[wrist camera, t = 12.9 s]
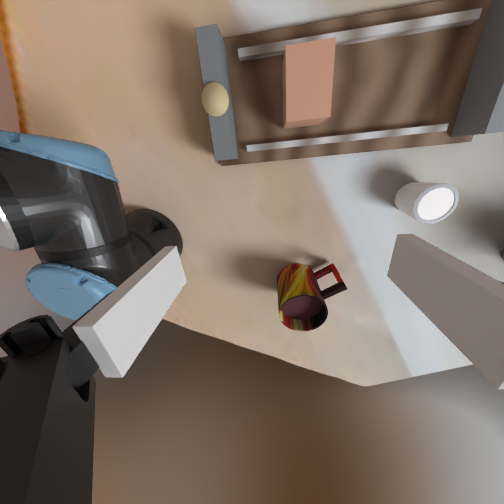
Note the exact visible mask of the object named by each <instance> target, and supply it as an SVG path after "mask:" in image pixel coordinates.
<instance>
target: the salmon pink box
mask: <svg viewBox="0 0 504 504" xmlns="http://www.w3.org/2000/svg"><path fill="white" fill-rule="evenodd" d="M335 44H336V37H334V38H328V39H321V40H315V41H309V42H303V43H297V44H291V45H285V52H284V60H283V67H282V97H283V129H288V128H296V127H305V126H313V125H319V124H320V123H322V122H323V121H325V120H326V119H328V118H329V117H331V102H332V88H333V73H334V59H335Z"/></svg>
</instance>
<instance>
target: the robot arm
mask: <svg viewBox="0 0 504 504" xmlns="http://www.w3.org/2000/svg"><path fill="white" fill-rule="evenodd" d="M118 183H119V182H118V180H117V179H116V177H115V174H114V171H113V168H112V165H111V162H110V159H109V157H108V156H107V154H106V153H105V152H104V151H102V150H101V149H99V148H97V147H95V146H92V145H88V144H84V143H79V142H74V141H69V140H64V139H58V138H52V137H46V136H39V135H33V134H25V133H20V134H19V133H16V132H7V131H1V130H0V248H4V249H8V250H11V251H19V250H23V249H27V248H31V247H34V249H35V251H36V253H37V255H38V257H39V259H40V260H41V264H38V265H36V266H34V267H32V269H31V270H30V271H29V272H28V273H27V277H26V278H25V283H26V286H27V288H28V290H29V292H30V293H31V294H32V296H33V297H34V298H35V299H36V300H37V301H38V302H40V303H41V304H42V305H43V306H45V307H46V308H48V309H50V310H51V311H53V312H55V313H57V314H59V315H61V316H63V317H66V318H69V319H72V320H76V321H75V322H74V323H72V324H71V325H70V326H69V327H68V328H67V329H65V330H64V331H63V332H61V330H60V329H59V327H58V326H57V325H56V323H55V322H54V320H53V319H52V317H51V316H48V315H42V316H37V317H33V318H30V319H28V320H25V321H23V322H21V323H18V324H17V325H15V326H13V327H11V328H9V329H8V330H6V331H5V332H4V333H2V334H1V335H0V347H1V348H2V349H3V350H4V351H5V352H6V353H7V355H8V356H6V357H2V358H0V504H92V478H93V477H92V476H93V447H94V418H95V416H94V415H95V388H96V382H95V379H94V377H93V374H94V373H95V372H96V370H97V369H98V368H100V370H101V371H102V373H103V374H104V375H105V377H124V375H125V374H126V372H127V371H128V369H129V368H130V366H131V365H132V363H133V361H134V360H135V358H136V357H137V355H138V354H139V352H140V351H141V349H142V348H143V346H144V345H145V343H146V342H147V340H148V339H149V337H150V336H151V334H152V333H153V331H154V330H155V328H156V327H157V325H158V324H159V322H160V321H161V319H162V318H163V316H164V315H165V313H166V312H167V310H168V309H169V307H170V306H171V304H172V303H173V301H174V300H175V298H176V297H177V295H178V294H179V292H180V291H181V289H182V288H183V286H184V285H185V283H186V282H187V281H186V278H185V274H184V271H183V267H182V263H181V260H180V255H181V253H182V248H183V243H182V238H181V235H180V232H179V230H178V229H177V227H176V226H175V225H174V223H173V222H172V221H171V220H170V219H168V218H167V217H166V216H164V215H162V214H161V213H158V212H156V211H153V210H146V209H142V210H137V211H134V212H132V213H129V214H127V215H126V214H125V210H124V206H123V202H122V198H121V194H120V191H119V187H118ZM387 276H388V277H389V278H390V279H391V280H392V281H393V282H394V283H395V284H396V285H397V286H398V287H399V289H400V290H401V291H402V292H403V293H404V294H405V295H406V296H407V297H408V298H409V299H410V300H411V301H412V302H413V303H414V304H415V305H416V306H417V307H418V308H419V309H420V310H421V311H422V312H423V313H424V314H425V315H426V316H427V317H428V318H429V319H430V320H431V321H432V322H433V323H434V324H435V325H436V326H437V327H438V328H439V329H440V330H441V332H442V333H443V334H444V335H445V336H446V337H447V338H448V339H449V340H450V341H451V342H452V343H453V344H454V345H455V346H456V347H457V348H458V349H459V350H460V351H461V352H462V353H463V354H464V355H465V356H466V357H467V358H468V359H469V360H470V361H471V362H472V363H473V364H474V365H475V366H476V367H477V368H478V369H479V370H480V371H481V372H482V373H483V374H484V375H485V377H487V379H488V380H489V381H490V382H491V383H492V384H493V385H494V386H495V387H496V388H497V389H504V283H503V282H500V281H498V280H496V279H494V278H492V277H490V276H488V275H486V274H485V273H483V272H481V271H479V270H477V269H475V268H474V267H472V266H470V265H468V264H466V263H465V262H463V261H461V260H459V259H457V258H455V257H454V256H452V255H450V254H448V253H446V252H444V251H443V250H441V249H439V248H437V247H435V246H433V245H432V244H430V243H428V242H426V241H424V240H422V239H421V238H419V237H417V236H415V235H413V234H399V235H397V238H396V242H395V246H394V250H393V254H392V258H391V262H390V266H389V271H388V275H387Z"/></svg>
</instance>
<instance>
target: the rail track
mask: <svg viewBox="0 0 504 504" xmlns="http://www.w3.org/2000/svg"><path fill="white" fill-rule="evenodd" d="M492 1H493V0H441V1H435V2H430V3H424V4H418V5H412V6H407V7H401V8H395V9H389V10H384V11H378V12H372V13H367V14H361V15H355V16H349V17H344V18H338V19H332V20H326V21H321V22H315V23H309V24H303V25H298V26H292V27H286V28H281V29H275V30H269V31H263V32H258V33H252V34H246V35H240V36H235V37H229V38H223V41H224V43H225V46H226V52H227V61H228V70H229V79H230V88H231V97H232V106H233V116H234V125H235V134H236V143H237V152H238V159H230V160H221V166H227V165H237V164H247V163H257V162H267V161H278V160H288V159H298V158H308V157H318V156H329V155H339V154H349V153H359V152H370V151H380V150H390V149H400V148H410V147H421V146H431V145H441V144H451V143H461V142H471V141H472V138H473V135H467V136H457V137H451V134H452V131H453V127H454V124H455V121H456V117H457V114H458V111H459V108H460V104H461V101H462V98H463V94H464V91H465V88H466V84H467V81H468V78H469V74H470V71H471V68H472V64H473V61H474V58H475V54H476V51H477V48H478V45H479V41H480V38H481V35H482V31H483V28H484V25H485V21H486V18H487V15H488V11H489V8H490V5H491V2H492ZM334 37H336V44H335V59H334V73H333V88H332V102H331V117H329V118H328V119H326V120H325V121H323V122H322V123H320V124H319V125H313V126H305V127H296V128H288V129H283V97H282V67H283V60H284V52H285V45H291V44H297V43H303V42H309V41H315V40H321V39H328V38H334Z"/></svg>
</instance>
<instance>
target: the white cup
mask: <svg viewBox="0 0 504 504" xmlns="http://www.w3.org/2000/svg"><path fill="white" fill-rule="evenodd" d="M458 201H459V193H458V190H457V189H456V188H455V187H454V186H453V185H450V184H447V183H425V182H413V183H408V184H406V185H404V186H403V187H402V188H400V189H399V190H398V192H397V194H396V195H395V200H394V202H395V206H396V207H397V208H398V209H399V210H401V211H402V212H404V213H406V214H407V215H409V216H410V217H412V218H414V219H415V220H417V221H418V222H421V223H424V224H432V223H436V222H439V221H441V220H444V219H445V218H446V217H448V216H449V215H450V214H451V213H452V212H453V211H454V209H455V208H456V207H457V204H458Z"/></svg>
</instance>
